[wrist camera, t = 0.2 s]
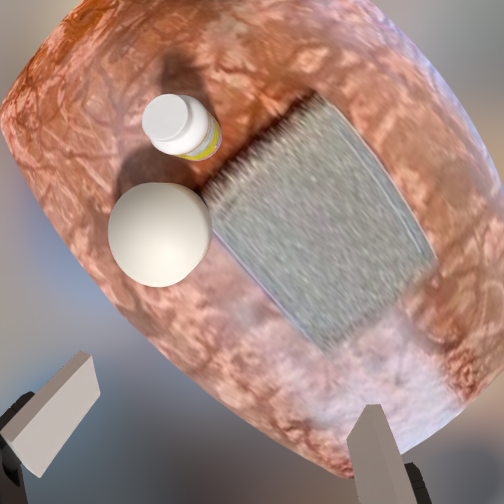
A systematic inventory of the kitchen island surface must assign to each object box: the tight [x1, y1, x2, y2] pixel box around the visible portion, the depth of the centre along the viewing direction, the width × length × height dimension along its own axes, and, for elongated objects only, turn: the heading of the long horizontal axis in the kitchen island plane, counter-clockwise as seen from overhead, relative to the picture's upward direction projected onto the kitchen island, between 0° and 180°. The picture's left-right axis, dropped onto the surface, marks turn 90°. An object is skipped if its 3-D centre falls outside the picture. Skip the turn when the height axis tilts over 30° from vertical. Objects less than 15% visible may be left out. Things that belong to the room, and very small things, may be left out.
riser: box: [108, 183, 212, 287], centre depth 35 cm, size 13×13×6 cm
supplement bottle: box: [142, 94, 222, 161], centre depth 28 cm, size 7×7×13 cm
